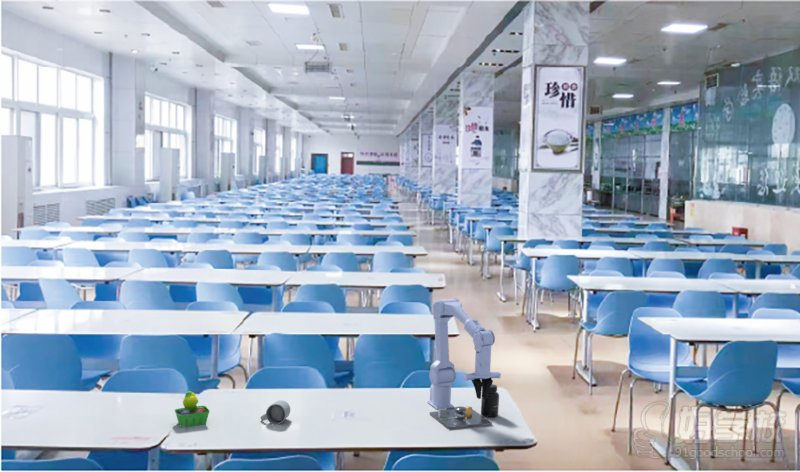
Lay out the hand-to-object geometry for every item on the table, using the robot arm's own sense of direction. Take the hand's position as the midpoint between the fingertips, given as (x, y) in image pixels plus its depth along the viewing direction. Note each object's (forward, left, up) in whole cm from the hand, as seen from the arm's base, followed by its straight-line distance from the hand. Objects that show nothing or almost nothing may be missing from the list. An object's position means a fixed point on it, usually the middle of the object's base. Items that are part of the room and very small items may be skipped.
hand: (481, 397), depth 294 cm
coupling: (-4, -5, -7) cm, 10 cm away
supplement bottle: (-9, +9, -11) cm, 16 cm away
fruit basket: (-30, -103, -11) cm, 108 cm away
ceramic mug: (-24, -73, -11) cm, 78 cm away
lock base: (-7, -5, -10) cm, 13 cm away
